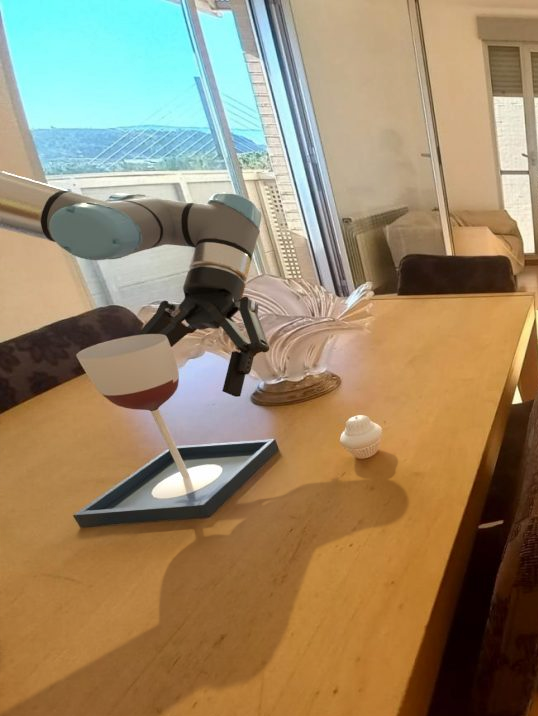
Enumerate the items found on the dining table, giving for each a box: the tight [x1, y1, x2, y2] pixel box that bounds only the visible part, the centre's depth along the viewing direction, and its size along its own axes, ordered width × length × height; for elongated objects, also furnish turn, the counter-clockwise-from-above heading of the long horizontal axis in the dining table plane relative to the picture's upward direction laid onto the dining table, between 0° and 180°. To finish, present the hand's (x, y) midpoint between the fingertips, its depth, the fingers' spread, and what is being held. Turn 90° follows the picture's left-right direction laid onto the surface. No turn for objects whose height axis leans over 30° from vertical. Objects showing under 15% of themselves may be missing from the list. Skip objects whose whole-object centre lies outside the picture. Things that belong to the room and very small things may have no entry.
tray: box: [72, 438, 280, 528], centre depth 71 cm, size 17×17×2 cm
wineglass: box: [75, 334, 222, 499], centre depth 67 cm, size 9×10×22 cm
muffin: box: [339, 414, 383, 460], centre depth 77 cm, size 6×6×7 cm
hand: (184, 397), depth 72 cm, fingers open, 13 cm apart
